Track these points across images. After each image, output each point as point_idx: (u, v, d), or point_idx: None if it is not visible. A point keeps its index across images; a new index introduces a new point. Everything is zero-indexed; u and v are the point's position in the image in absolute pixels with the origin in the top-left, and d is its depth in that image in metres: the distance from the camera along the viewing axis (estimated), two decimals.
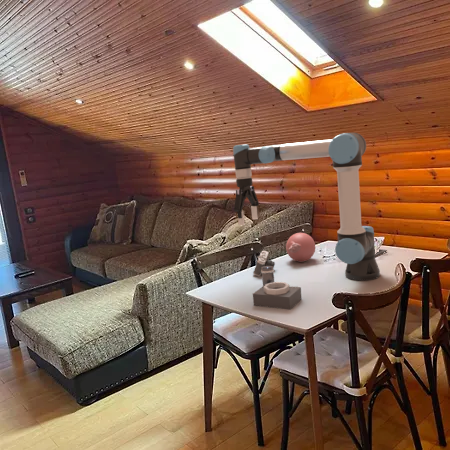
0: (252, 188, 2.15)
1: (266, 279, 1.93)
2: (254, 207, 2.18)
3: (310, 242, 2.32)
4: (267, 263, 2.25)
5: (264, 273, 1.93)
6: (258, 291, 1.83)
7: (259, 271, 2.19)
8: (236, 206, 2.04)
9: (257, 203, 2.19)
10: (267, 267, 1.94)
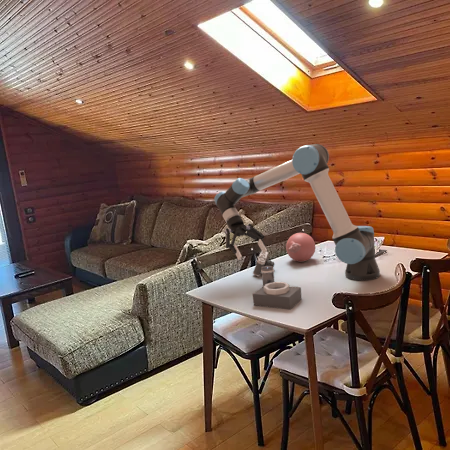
0: (249, 225, 2.13)
1: (266, 279, 1.93)
2: (259, 241, 2.09)
3: (310, 242, 2.32)
4: (267, 263, 2.24)
5: (264, 273, 1.93)
6: (258, 291, 1.83)
7: (259, 271, 2.19)
8: (226, 243, 2.03)
9: None
10: (267, 267, 1.94)
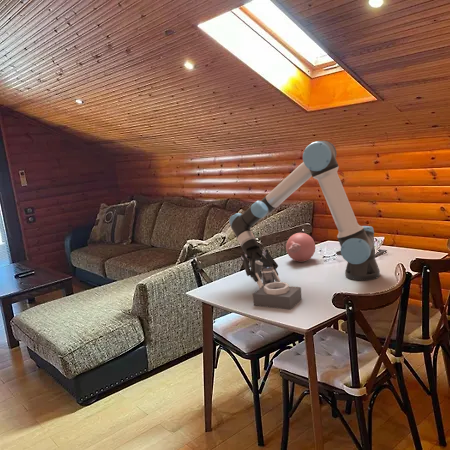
0: (265, 251, 2.03)
1: (266, 279, 1.93)
2: None
3: (310, 242, 2.32)
4: None
5: (264, 273, 1.93)
6: (258, 291, 1.83)
7: (258, 272, 2.19)
8: (246, 271, 1.94)
9: (276, 266, 1.99)
10: (267, 267, 1.94)
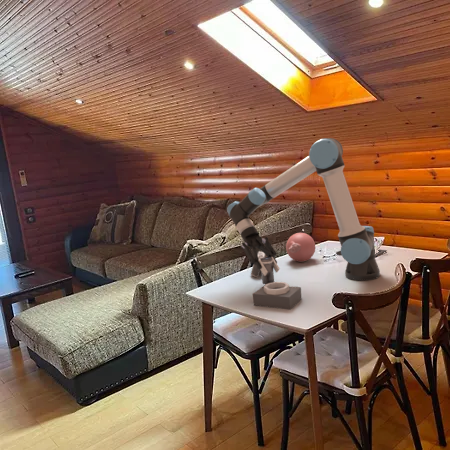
0: (265, 239, 2.02)
1: None
2: None
3: (310, 242, 2.32)
4: None
5: (263, 264, 1.92)
6: (258, 291, 1.83)
7: (257, 272, 2.18)
8: (249, 259, 1.93)
9: (274, 254, 1.97)
10: (266, 258, 1.93)
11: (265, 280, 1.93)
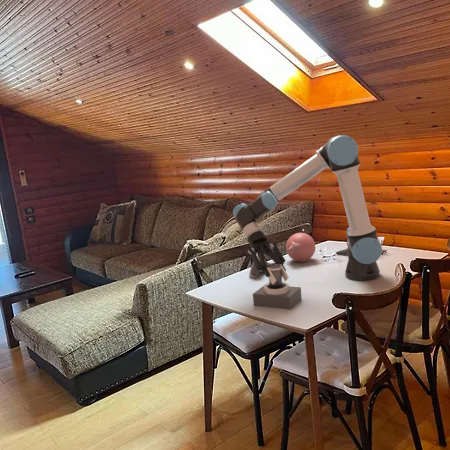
0: (273, 244, 1.88)
1: None
2: None
3: (310, 242, 2.32)
4: None
5: (271, 271, 1.78)
6: (258, 291, 1.83)
7: (256, 272, 2.18)
8: (257, 266, 1.79)
9: (283, 261, 1.83)
10: (274, 264, 1.79)
11: (273, 288, 1.79)
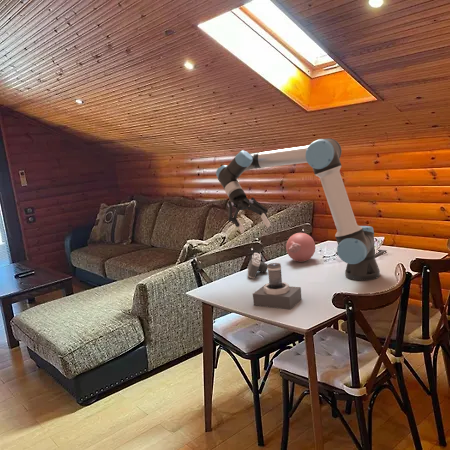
0: (252, 199, 2.06)
1: (273, 277, 1.78)
2: (262, 215, 2.02)
3: (310, 242, 2.32)
4: (260, 265, 2.22)
5: (271, 271, 1.78)
6: (258, 291, 1.83)
7: (254, 273, 2.17)
8: (228, 217, 1.97)
9: (266, 211, 2.04)
10: (274, 264, 1.79)
11: (273, 288, 1.79)
